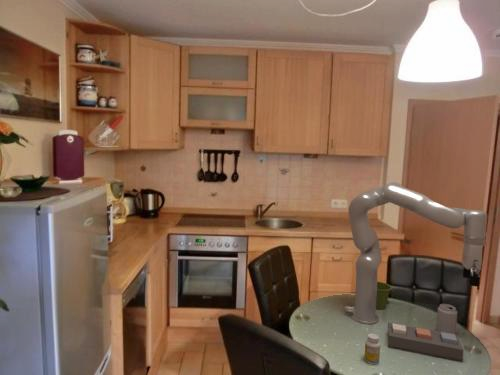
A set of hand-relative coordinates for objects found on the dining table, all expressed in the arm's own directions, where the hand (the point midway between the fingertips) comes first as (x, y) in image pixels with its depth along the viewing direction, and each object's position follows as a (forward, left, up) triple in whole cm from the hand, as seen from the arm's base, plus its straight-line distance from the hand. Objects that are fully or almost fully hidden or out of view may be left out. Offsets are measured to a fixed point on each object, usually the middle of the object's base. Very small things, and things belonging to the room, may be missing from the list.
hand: (470, 281), depth 142 cm
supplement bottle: (-36, -28, -27) cm, 53 cm away
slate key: (-8, -10, -24) cm, 27 cm away
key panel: (-17, -10, -27) cm, 33 cm away
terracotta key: (-17, -10, -24) cm, 31 cm away
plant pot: (-34, +23, -27) cm, 49 cm away
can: (-6, +7, -27) cm, 28 cm away
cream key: (-26, -10, -24) cm, 37 cm away
